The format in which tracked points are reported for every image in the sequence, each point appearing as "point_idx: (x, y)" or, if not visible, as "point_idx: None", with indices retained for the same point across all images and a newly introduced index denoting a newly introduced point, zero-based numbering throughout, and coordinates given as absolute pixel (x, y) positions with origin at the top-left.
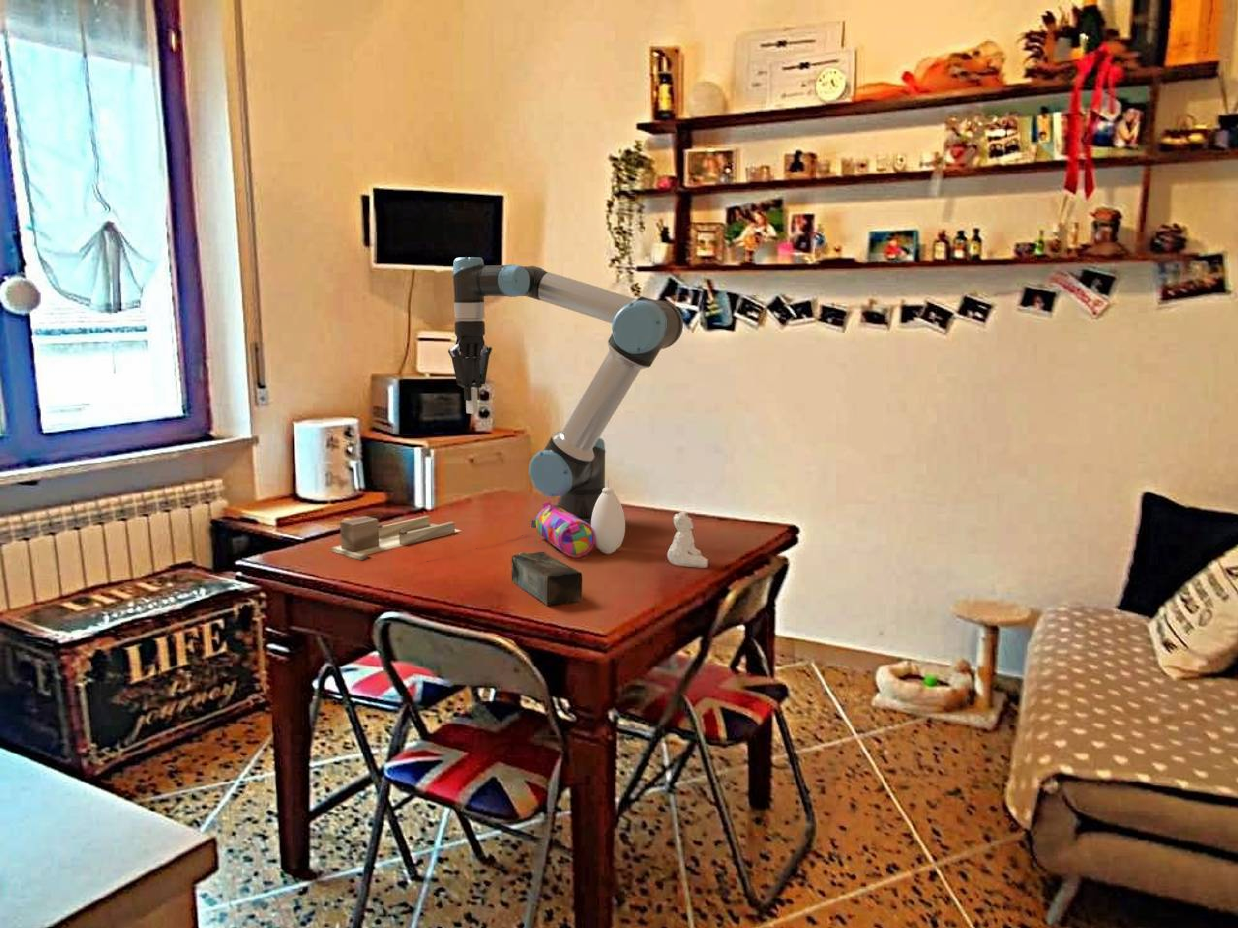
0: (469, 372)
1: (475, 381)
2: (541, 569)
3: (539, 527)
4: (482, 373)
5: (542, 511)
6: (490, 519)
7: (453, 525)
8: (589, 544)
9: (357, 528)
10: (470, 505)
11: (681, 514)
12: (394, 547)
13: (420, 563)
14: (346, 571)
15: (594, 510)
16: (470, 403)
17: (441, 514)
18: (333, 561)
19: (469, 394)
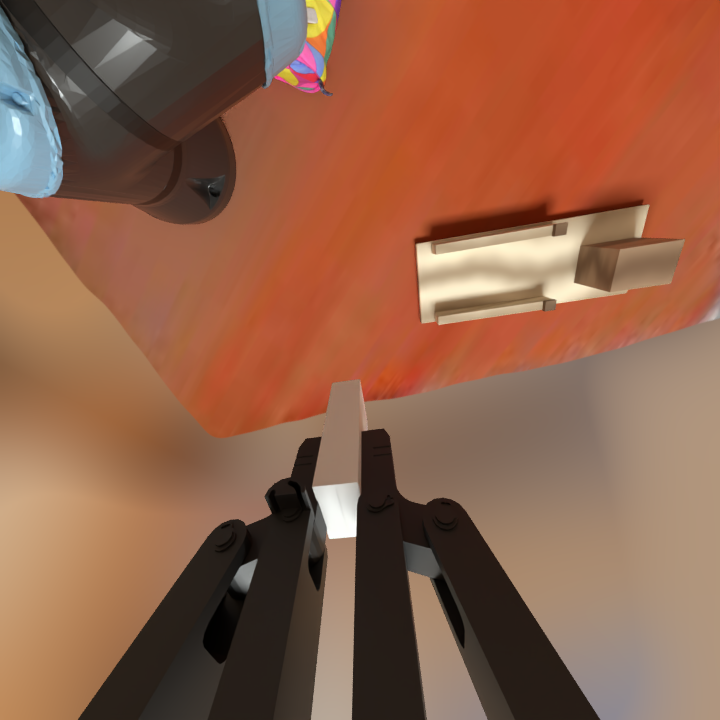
0: (400, 673)
1: (307, 551)
2: None
3: (330, 46)
4: (185, 650)
5: (306, 43)
6: (317, 305)
7: (437, 244)
8: None
9: (664, 240)
10: (297, 400)
11: None
12: (572, 218)
13: (605, 96)
14: (714, 150)
15: None
16: (363, 426)
17: (362, 381)
18: (668, 232)
19: (376, 458)
